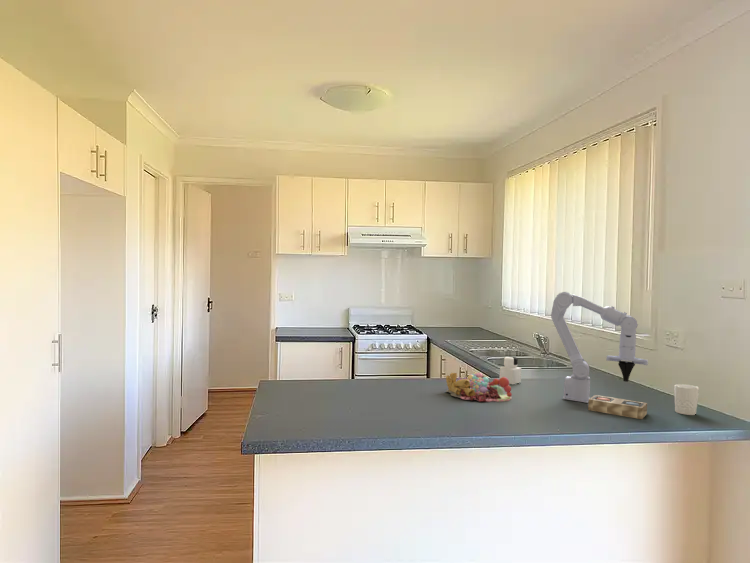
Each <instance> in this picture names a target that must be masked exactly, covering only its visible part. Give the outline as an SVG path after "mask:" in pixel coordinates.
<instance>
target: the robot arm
mask: <svg viewBox="0 0 750 563" xmlns="http://www.w3.org/2000/svg"><path fill="white" fill-rule="evenodd" d="M552 302H553V303H552V309H551V313H550V318H551V321H552V323H553V325H554V328H555V329H556V332H557V334H558V336H559V338H560V340H561V343H562V344H563V346H564V349H565V351H566V353H567V356H568V358H569V361H570V364H571V365H572V366H571V367H572V368H571V369H572V371H571V372H572V374H571V375H570V376H569V375H568V376H565V377H564V384H563V396H562V399H563V400H568V401H575V402H579V403H580V402H581V403H587V404H588V402H589V399H590V398H591V396H590V395H591V394H590V393H591V391H590V390H591V377H590V376H589V375H590V365H589V363H588V362H587V361H586V360H584V357H583V355H582V354H581V352H580V350H579V348H578V344H576V341H575V339H574V336H573V334H572V331H571V330H570V327H569V326H568V324H567V321H566V318H565V314H566V312H567V309H568V308H569V307H571V305H572V307H582V308H584V309H587V310H589V311H591V312H593V313H596V314H598V315H599V316H600V318H601V319H602V320H603V321H605V322H607V323H610V324H612V325H614V326H616V327H620V333H619V346H618V355H606V357H605V358H606V361H607V362H618V367H619V369H620V372H621V374H622V380H623V382H626V383H628V382H629V380H630V376H631V373H632V372H633V369H634V367H635V366H636V364H637V365H643V366H648V364H649V359H645V358H639V357H638V358H637V357H636V347H637V334H636V333H637V328H638V325H639V324H638V321H637V320H636V318H634V317H633V316H632V315H630V314H628V312H625V311H624V312H622V311H620V310H618V309H616V307H615V306H613V305H611V306H609V305H607V306H604V307H603V306H601V305H599V304H597V303H595V302H593V301H591V300H589V299H587V298H586V297H583V296H579V295H576V294H573V293H570V292H568V291H562V292H559V293H558V294H557V295H556V297H555V298H554V300H553V301H552Z"/></svg>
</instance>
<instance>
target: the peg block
mask: <svg viewBox="0 0 750 563" xmlns="http://www.w3.org/2000/svg"><path fill="white" fill-rule="evenodd" d="M599 397H601V398H608V399H610V401H606V400H600V399H597V398H599ZM589 398H590V399H589V402H588V403H587V404H588V406H587V407H588V408H587V410H588V411H592V412H599V413H603V414H609V415H614V416H621V417H627V418H632V419H638V420H643V419H644V418H645V416H646V415H647V414H648V403H647V402H642V401H638V400H630V399H624V398H619V397H618V398H617V397H612V396H605V395H599V394H594V395H593V396H590V397H589ZM626 402H634V403H638V404H639V406H637V405H631V404H626Z"/></svg>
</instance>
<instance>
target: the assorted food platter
mask: <svg viewBox="0 0 750 563" xmlns="http://www.w3.org/2000/svg"><path fill="white" fill-rule="evenodd" d="M445 380H446V381H445V382H446V385H447V387H448V389H447V390H445V392H447V393H450V395H451V397H455V398H459V399H462V400H466V401H467V400H470V402H472V401H478V402H488V403H489V402H490V403H491V402H498V403H499V402H509V401H511V400H512V395H513V394H512V392H511V391H512V387H511V386H510V384H509V380H508V379H507V378H506V377H502V378H500V379H499V378H493V379H492V381H490V379H489V378H488V377H487V376H484V375H483V373H481V372H476V371H475V372H474V373H470V374H468V376H467V377H466V376H464V378H463V376H461V377H460V376H458V375H457V372H451V373H450V374H449V375H446V376H445Z"/></svg>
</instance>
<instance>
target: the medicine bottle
mask: <svg viewBox="0 0 750 563" xmlns="http://www.w3.org/2000/svg"><path fill="white" fill-rule="evenodd" d="M518 360H519V359H518V357H515V356H512V355H511V356H505V357H504V358H503V365H504V366H500V367H499V376H498V377H499V378H498V380H499V379H500V378H502V377H506V378H507V379H508V380H509V385H510V384H515V383H519V382H522V367H519V366H518V365H519V364H518V363H519V362H518ZM519 384H520V383H519ZM515 385H516V384H515Z"/></svg>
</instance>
